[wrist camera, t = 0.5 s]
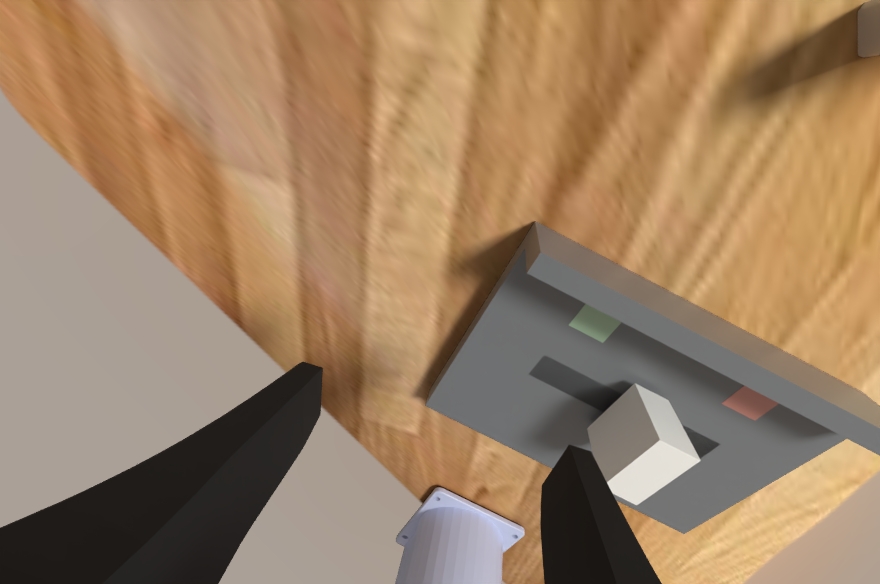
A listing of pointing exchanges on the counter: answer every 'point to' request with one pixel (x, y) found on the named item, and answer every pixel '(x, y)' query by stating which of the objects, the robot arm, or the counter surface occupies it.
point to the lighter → (869, 29)
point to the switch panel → (640, 378)
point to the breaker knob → (640, 445)
